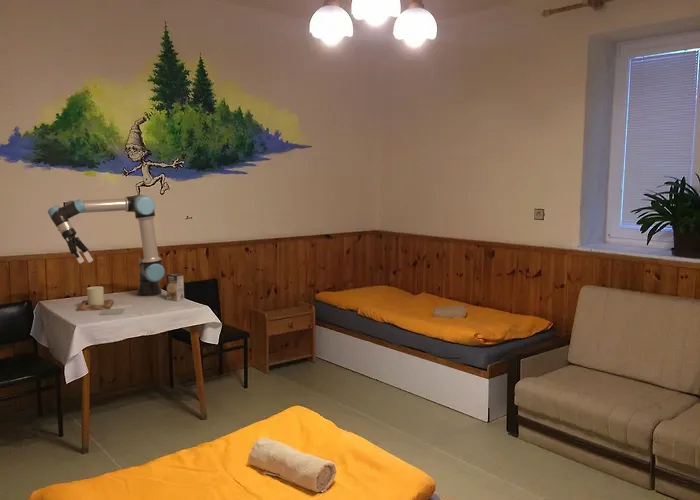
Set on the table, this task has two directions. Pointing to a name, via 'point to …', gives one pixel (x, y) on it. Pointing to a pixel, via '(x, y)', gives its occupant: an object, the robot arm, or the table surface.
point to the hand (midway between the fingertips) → (86, 262)
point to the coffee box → (175, 286)
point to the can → (95, 295)
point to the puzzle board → (84, 305)
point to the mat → (111, 311)
